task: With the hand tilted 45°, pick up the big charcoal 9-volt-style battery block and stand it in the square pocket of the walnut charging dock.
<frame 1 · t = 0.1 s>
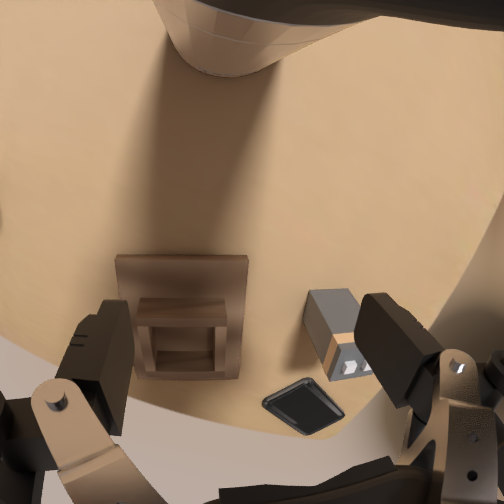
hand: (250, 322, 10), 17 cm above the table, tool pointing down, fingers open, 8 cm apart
cell: (325, 304, 33), on the table
phone: (305, 405, 43), on the table
dock: (183, 324, 31), on the table
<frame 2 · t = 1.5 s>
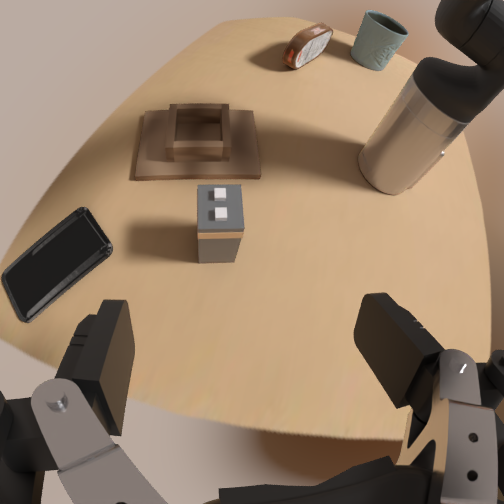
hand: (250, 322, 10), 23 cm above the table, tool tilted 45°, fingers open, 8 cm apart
cell: (215, 244, 36), on the table
teal embossed cup: (368, 61, 58), on the table
tin: (303, 61, 53), on the table
phone: (55, 265, 32), on the table
dock: (198, 143, 41), on the table
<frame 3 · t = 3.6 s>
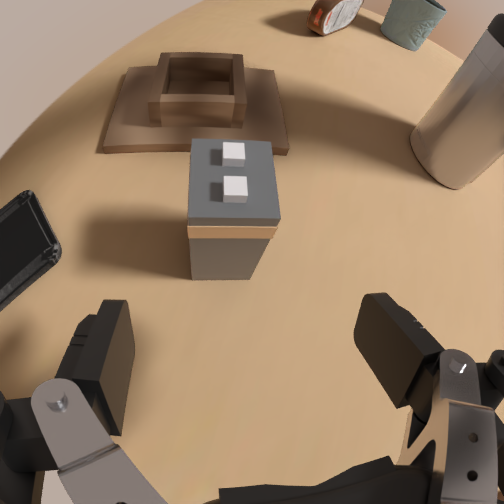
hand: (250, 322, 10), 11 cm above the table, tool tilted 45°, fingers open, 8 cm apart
cell: (219, 249, 22), on the table
teal embossed cup: (399, 40, 45), on the table
tin: (330, 30, 40), on the table
dock: (197, 106, 27), on the table
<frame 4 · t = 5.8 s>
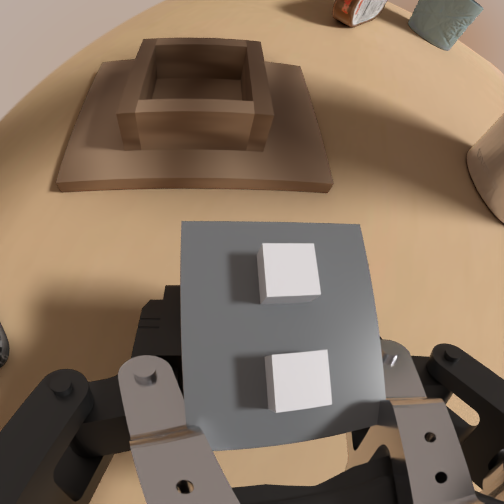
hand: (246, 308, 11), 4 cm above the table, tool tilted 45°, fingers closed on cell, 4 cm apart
cell: (236, 355, 14), on the table, touching gripper
teal embossed cup: (429, 37, 37), on the table
tin: (356, 22, 32), on the table
dock: (195, 115, 19), on the table
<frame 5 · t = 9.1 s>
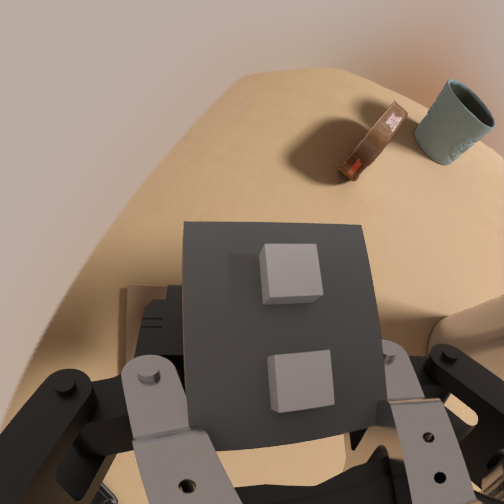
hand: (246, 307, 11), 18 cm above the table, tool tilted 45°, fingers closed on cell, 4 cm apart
cell: (236, 355, 14), point 14 cm above the table, touching gripper
teal embossed cup: (434, 147, 45), on the table
tin: (362, 158, 40), on the table
phone: (51, 499, 18), on the table
dock: (215, 354, 27), on the table
when the fingers open (6 cm above the table, at t = 12.2 s): cell drops 1 cm, resting on dock.
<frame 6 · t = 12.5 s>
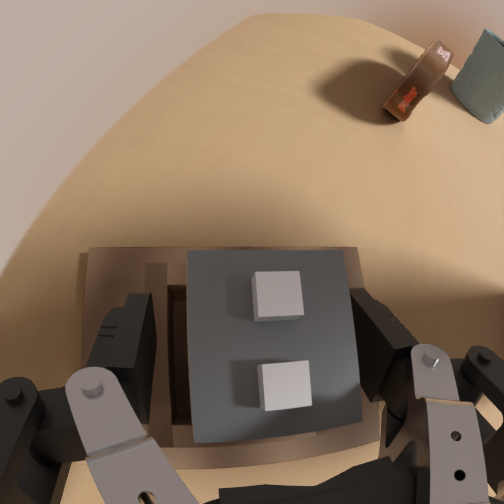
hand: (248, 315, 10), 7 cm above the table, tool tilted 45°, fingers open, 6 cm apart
cell: (235, 359, 15), point 1 cm above the table, touching dock
teal embossed cup: (472, 104, 34), on the table
tin: (404, 102, 29), on the table
dock: (231, 357, 16), on the table
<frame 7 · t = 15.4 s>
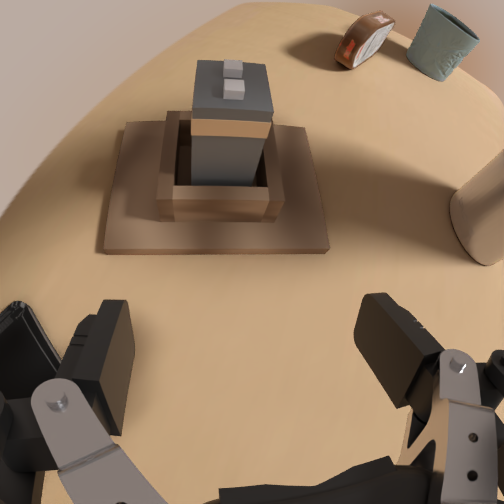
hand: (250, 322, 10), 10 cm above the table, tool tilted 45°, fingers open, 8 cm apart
cell: (218, 176, 23), point 1 cm above the table, touching dock
teal embossed cup: (426, 67, 42), on the table
tin: (357, 60, 37), on the table
dock: (216, 182, 24), on the table
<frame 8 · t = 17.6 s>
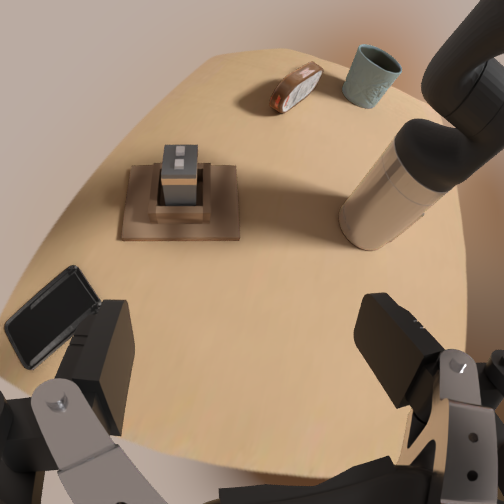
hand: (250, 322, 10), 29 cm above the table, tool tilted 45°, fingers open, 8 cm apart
cell: (182, 199, 43), point 1 cm above the table, touching dock
teal embossed cup: (359, 97, 61), on the table
tin: (292, 102, 56), on the table
phone: (52, 319, 35), on the table
dock: (181, 202, 43), on the table
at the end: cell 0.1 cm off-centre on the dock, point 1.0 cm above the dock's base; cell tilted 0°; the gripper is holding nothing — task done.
